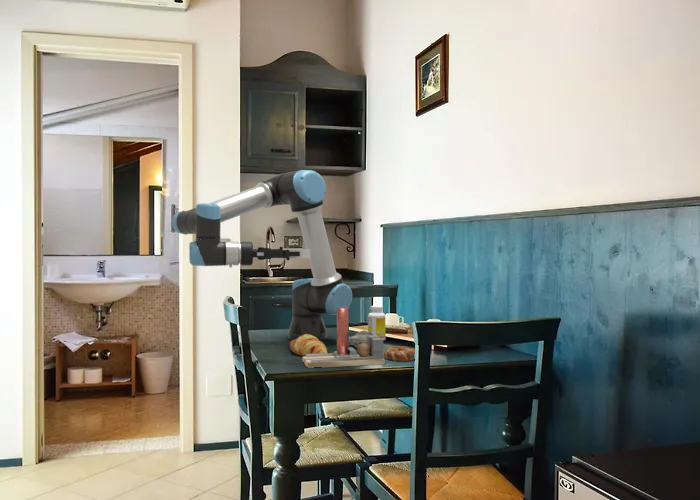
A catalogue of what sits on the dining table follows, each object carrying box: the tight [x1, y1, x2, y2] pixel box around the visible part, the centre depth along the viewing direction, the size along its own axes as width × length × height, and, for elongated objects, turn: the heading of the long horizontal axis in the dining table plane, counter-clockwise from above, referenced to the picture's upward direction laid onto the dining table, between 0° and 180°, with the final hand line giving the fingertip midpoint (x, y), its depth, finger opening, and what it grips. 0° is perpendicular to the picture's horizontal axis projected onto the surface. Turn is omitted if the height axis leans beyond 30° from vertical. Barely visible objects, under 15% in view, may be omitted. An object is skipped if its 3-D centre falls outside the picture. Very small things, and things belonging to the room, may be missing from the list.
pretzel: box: [383, 345, 416, 362], centre depth 194 cm, size 12×11×4 cm
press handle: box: [333, 308, 358, 358], centre depth 187 cm, size 7×6×15 cm
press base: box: [302, 335, 386, 369], centre depth 187 cm, size 10×24×8 cm, turn 104°
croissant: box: [289, 334, 328, 357], centre depth 201 cm, size 21×10×8 cm, turn 39°
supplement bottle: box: [367, 305, 387, 341], centre depth 228 cm, size 7×7×13 cm
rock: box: [348, 329, 373, 349], centre depth 208 cm, size 13×9×6 cm, turn 148°
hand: (306, 253), depth 194 cm, fingers open, 13 cm apart
